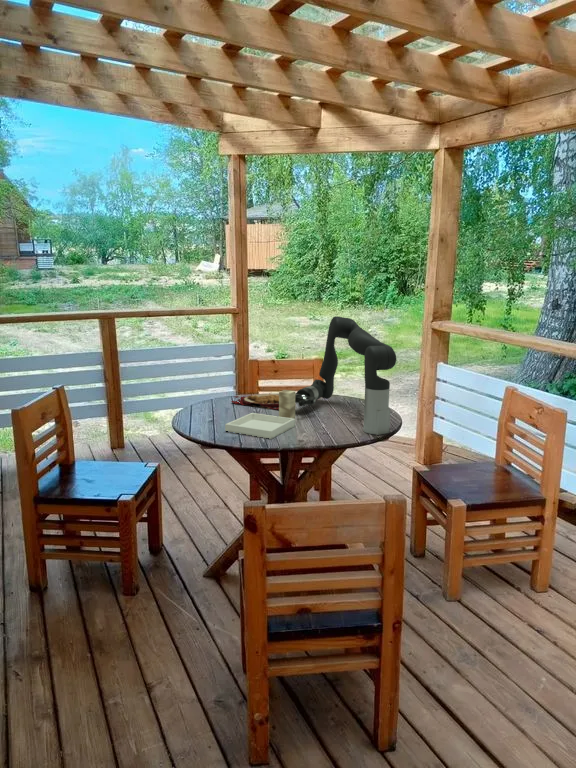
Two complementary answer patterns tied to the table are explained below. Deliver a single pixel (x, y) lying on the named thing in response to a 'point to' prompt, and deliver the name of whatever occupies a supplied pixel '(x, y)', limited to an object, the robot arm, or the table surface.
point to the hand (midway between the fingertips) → (290, 402)
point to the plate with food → (260, 400)
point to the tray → (260, 425)
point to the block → (287, 404)
